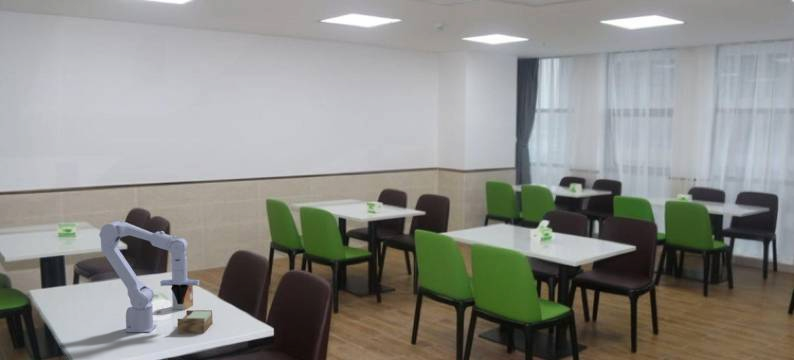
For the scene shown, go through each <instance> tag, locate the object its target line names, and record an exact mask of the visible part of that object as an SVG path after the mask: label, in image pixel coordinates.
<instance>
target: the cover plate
mask: <svg viewBox="0 0 794 360" xmlns="http://www.w3.org/2000/svg"><path fill="white" fill-rule="evenodd" d="M210 316H211V311H193V312H192V313H191V314H190V315H189V316H188V317H187V318H186V319H204V322H205V321H206V320H207V319H208V318H209V317H210Z"/></svg>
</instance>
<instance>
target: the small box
mask: <svg viewBox="0 0 794 360" xmlns="http://www.w3.org/2000/svg"><path fill="white" fill-rule="evenodd" d="M193 286H194V285H189V287H188V289H187V292H186V294H185V298H184V303H183V304H178V303H177V300H176V297H175V295H174V293H173V291H172V290H171V291H172V295H171V296H172V310H178V311H179V310H181V311H183V310H184V311H185V310H186V309H187V310H188V308H190V307H193V305H194V295H193V294H194V287H193Z"/></svg>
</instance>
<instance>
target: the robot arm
mask: <svg viewBox="0 0 794 360" xmlns="http://www.w3.org/2000/svg"><path fill="white" fill-rule="evenodd" d="M98 236H99V238H100V249H101V252H102V253H103V254H104V256H105V258H106V259H107V261H108V262H109V264H110V265H111V266H112V268H113V269H114V272H115V273H116V274H117V276H118V277H119V278H120V280H121V281H122V283H123V284H124V286H125V287H126V289H127V296H128V297H129V299H130V304H131V306H129V307H128V308H127V309H126V312H125V328H126V329H125V333H150V332H152V331H153V330H155V328H156V327H157V326H158V324H154V311H153V310H154V309H153V304H152V301H153V300H154V296H155V295H154V291H153V289H151V288H150V287H148V286H147V285H146V283H144V282H142V281H141V280H140V279H139V277H138V276H137V275H136V273H135V271H134V270H133V268H132V267H131V265H130V264H129V262H128V261H127V260H126V258H125V256H124V255H123V253H122V252H121V251H120V249H119V247H118V246H119V242H120V240H121V238H123V237H128V236H131V237H133V238H134V237H135V238H137V239H142V240H145V241H148V242H150V244H151V245H152V246H153V247H157V248H159V249H161V250H162V249H163V250H165V251H169V252H170V253H171V258H170V259H171V260H170V261H171V279H161V280H160V281H159V282H160V287H164V286H166V287H168V286H171V288H170V289H171V291H173V293H174V295H175V297H176V300H177V303H178V304H183V303H184V298H185V294H186V292H187V289H188V287H189V285H193V286H195V287H198V286H200V279H192V278H191V279H190V278H188V257H187V249H188V247H189V243H188V241H187V239H186V238H184V237H181V236H180V237H177V236H176V235H173V236H172V235H170V234H168V233H167V234H166V233H165V231H163V230H161V231H156V232H151V231H149V230H146V229H143V228H141V227H139V226H136V225H134V224H131V223H130V222H129V223H128V222H126V221H121V220H118V219H116V220H113V221H111V222H110V223H106V224H104V225H102V227H101V229H100V232H99V234H98Z"/></svg>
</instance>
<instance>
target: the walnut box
mask: <svg viewBox="0 0 794 360" xmlns="http://www.w3.org/2000/svg"><path fill="white" fill-rule="evenodd" d="M193 311H211V316H210V317H209V318H208V319H207V320H206V321H205V322H204V319H186V318H187V317H188V316H189V315H190V314H191V313H192V312H193ZM212 325H213V310H212V309H211V310H209V309H208V310H205V309H203V310H202V309H201V310H197V309H196V310H188V309H187V310H186V314H185V315H184V316H183V317H182V318H177V334H205V333H206V331H207V330H209V328H211V326H212Z"/></svg>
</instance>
